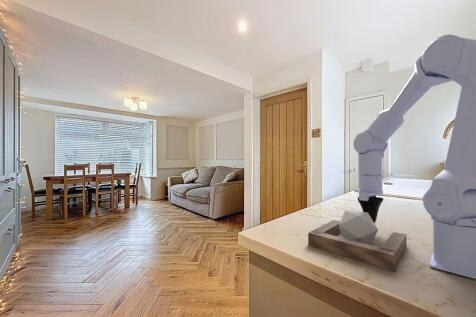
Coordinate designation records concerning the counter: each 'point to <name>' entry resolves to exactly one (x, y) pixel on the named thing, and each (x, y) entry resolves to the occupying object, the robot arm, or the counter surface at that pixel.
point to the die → (358, 227)
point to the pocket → (359, 246)
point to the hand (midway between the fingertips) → (370, 222)
